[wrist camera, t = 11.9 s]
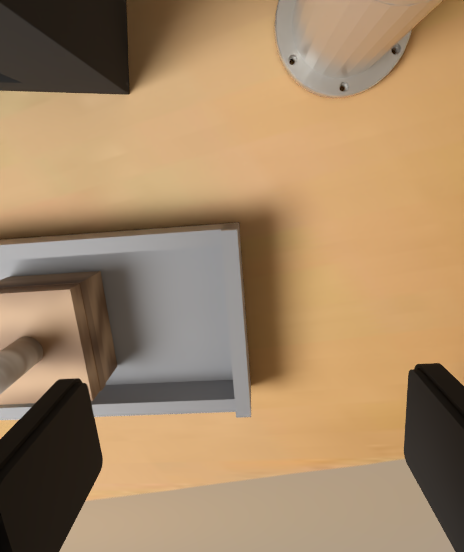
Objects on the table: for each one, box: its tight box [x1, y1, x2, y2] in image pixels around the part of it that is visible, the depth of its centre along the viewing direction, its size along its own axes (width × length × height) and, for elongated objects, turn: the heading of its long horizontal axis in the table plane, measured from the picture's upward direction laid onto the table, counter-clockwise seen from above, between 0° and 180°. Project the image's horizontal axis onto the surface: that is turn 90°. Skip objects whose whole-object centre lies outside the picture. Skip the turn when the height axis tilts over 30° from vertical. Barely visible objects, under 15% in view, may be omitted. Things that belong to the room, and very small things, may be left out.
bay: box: [0, 222, 251, 420], centre depth 40 cm, size 20×30×6 cm
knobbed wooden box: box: [0, 271, 117, 405], centre depth 36 cm, size 12×11×13 cm
